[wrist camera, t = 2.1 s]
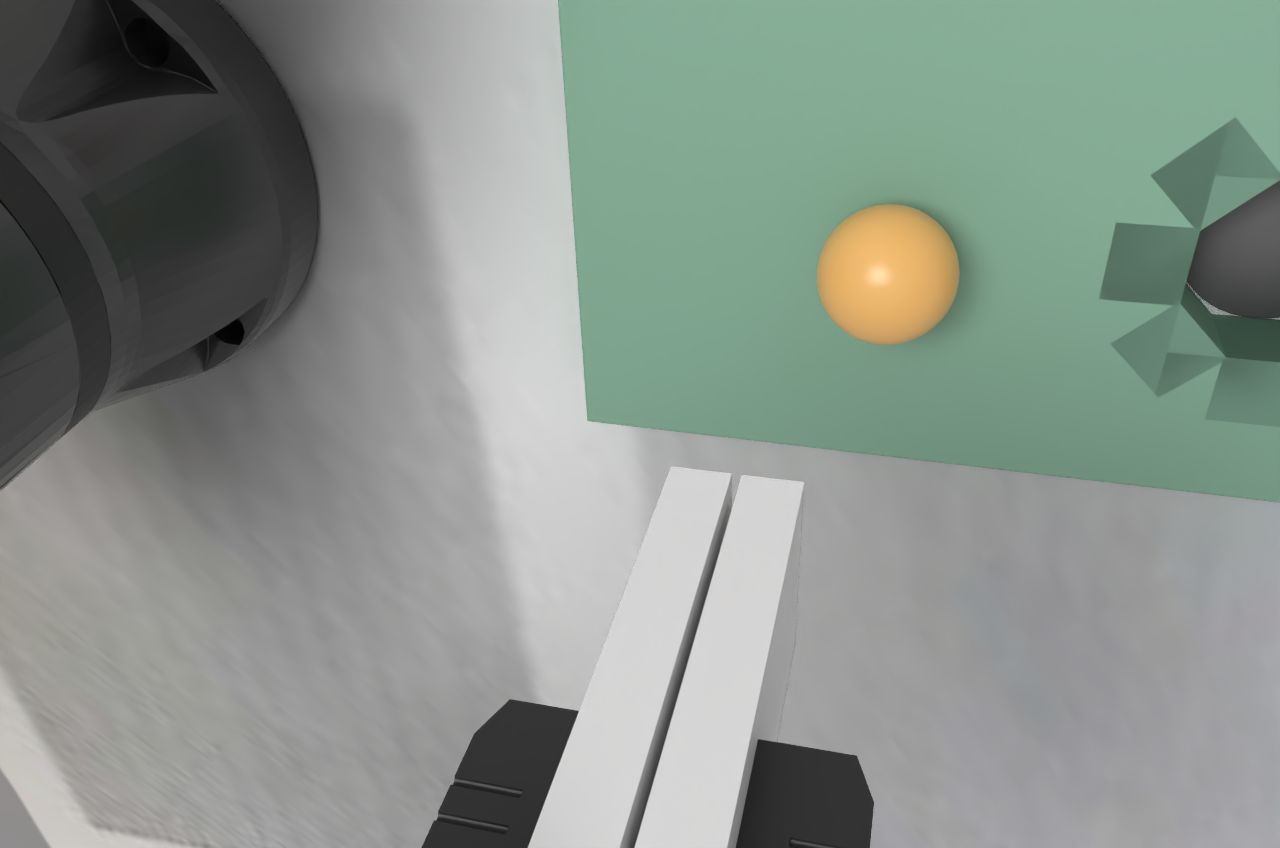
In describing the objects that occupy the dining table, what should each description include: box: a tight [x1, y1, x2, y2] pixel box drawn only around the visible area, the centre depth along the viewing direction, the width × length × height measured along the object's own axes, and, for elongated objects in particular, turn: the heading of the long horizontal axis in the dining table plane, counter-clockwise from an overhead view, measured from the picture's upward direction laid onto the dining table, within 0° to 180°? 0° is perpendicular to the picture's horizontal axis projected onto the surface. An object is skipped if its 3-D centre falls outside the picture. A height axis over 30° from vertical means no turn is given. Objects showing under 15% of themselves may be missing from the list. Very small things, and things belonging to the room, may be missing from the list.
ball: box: [817, 204, 960, 345], centre depth 29 cm, size 4×4×4 cm
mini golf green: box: [558, 0, 1280, 502], centre depth 27 cm, size 24×14×12 cm, turn 92°
